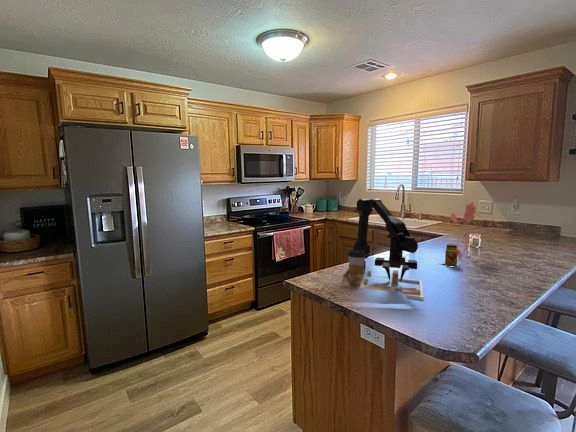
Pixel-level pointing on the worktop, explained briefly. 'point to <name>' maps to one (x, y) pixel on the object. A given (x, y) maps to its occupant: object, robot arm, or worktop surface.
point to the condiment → (451, 255)
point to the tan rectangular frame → (394, 276)
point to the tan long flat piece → (372, 286)
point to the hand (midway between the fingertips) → (395, 280)
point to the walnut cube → (354, 280)
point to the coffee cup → (356, 262)
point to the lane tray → (402, 287)
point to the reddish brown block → (410, 291)
